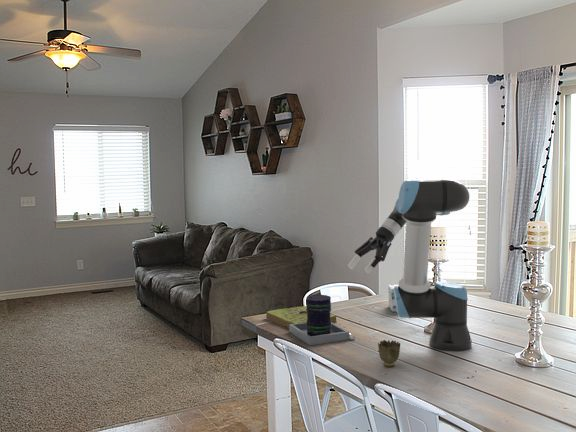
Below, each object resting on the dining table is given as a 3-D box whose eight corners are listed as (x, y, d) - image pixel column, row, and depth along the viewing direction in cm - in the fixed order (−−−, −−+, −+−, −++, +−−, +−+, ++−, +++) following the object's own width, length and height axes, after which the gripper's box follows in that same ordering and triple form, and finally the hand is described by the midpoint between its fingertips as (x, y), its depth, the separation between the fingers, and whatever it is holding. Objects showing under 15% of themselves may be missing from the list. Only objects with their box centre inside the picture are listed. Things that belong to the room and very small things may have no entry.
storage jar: (330, 330, 238) (329, 294, 237) (332, 337, 228) (332, 300, 227) (305, 331, 238) (305, 294, 237) (307, 338, 228) (306, 300, 227)
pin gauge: (352, 334, 227) (349, 339, 226) (355, 336, 227) (353, 341, 227) (340, 328, 236) (337, 332, 235) (344, 330, 236) (341, 334, 236)
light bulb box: (406, 312, 269) (406, 288, 268) (391, 312, 269) (391, 289, 268) (402, 306, 279) (402, 284, 278) (388, 306, 279) (387, 284, 278)
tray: (349, 339, 227) (349, 331, 227) (309, 345, 221) (309, 337, 221) (326, 326, 246) (326, 319, 246) (289, 331, 239) (289, 324, 239)
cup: (385, 360, 202) (385, 338, 202) (404, 365, 198) (404, 342, 197) (374, 366, 197) (373, 343, 196) (393, 371, 192) (393, 347, 191)
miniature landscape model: (305, 312, 273) (305, 301, 272) (336, 323, 253) (336, 312, 252) (265, 319, 261) (265, 308, 260) (295, 331, 241) (294, 320, 241)
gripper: (410, 240, 237) (379, 280, 232) (377, 234, 260) (348, 271, 255) (399, 228, 235) (368, 268, 230) (366, 223, 257) (337, 260, 253)
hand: (357, 270), depth 242 cm, fingers open, 13 cm apart
